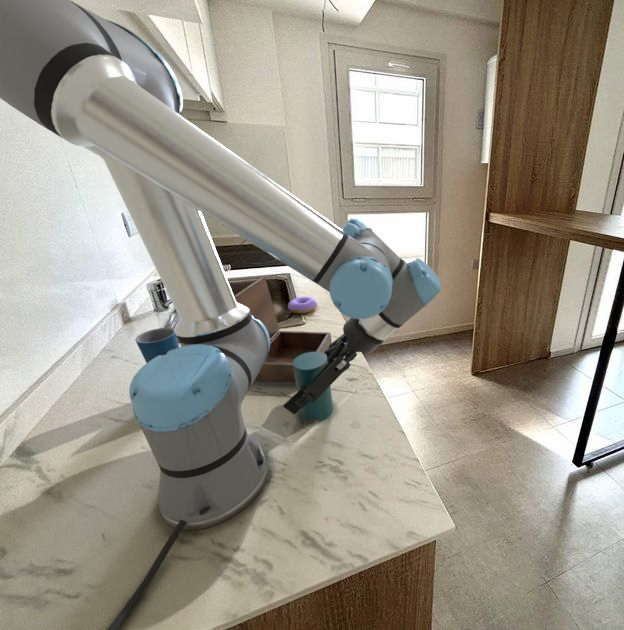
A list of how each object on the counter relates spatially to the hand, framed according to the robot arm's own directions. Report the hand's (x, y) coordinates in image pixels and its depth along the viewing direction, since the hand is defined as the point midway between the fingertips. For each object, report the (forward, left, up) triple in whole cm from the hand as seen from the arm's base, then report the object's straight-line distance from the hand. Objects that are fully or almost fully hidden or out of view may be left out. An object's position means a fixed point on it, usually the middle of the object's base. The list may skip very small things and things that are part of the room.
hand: (299, 391), depth 69 cm
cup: (-9, +30, -5) cm, 32 cm away
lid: (+9, +21, +9) cm, 25 cm away
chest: (+12, +14, -5) cm, 20 cm away
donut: (+40, +39, -5) cm, 57 cm away
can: (+1, -3, -5) cm, 6 cm away
